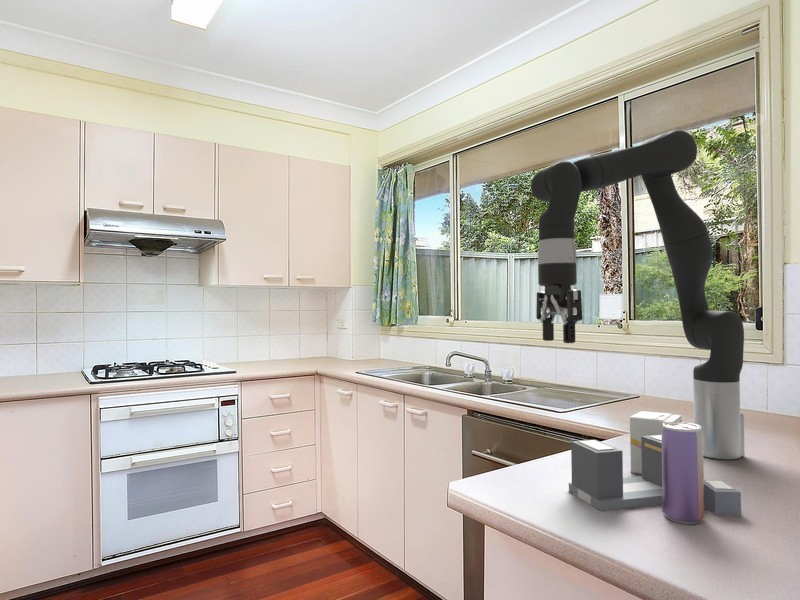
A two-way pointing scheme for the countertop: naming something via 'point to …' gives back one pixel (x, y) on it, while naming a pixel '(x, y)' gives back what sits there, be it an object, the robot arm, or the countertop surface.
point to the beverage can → (682, 472)
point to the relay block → (722, 498)
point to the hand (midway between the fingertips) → (558, 341)
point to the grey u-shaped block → (616, 475)
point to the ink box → (646, 433)
